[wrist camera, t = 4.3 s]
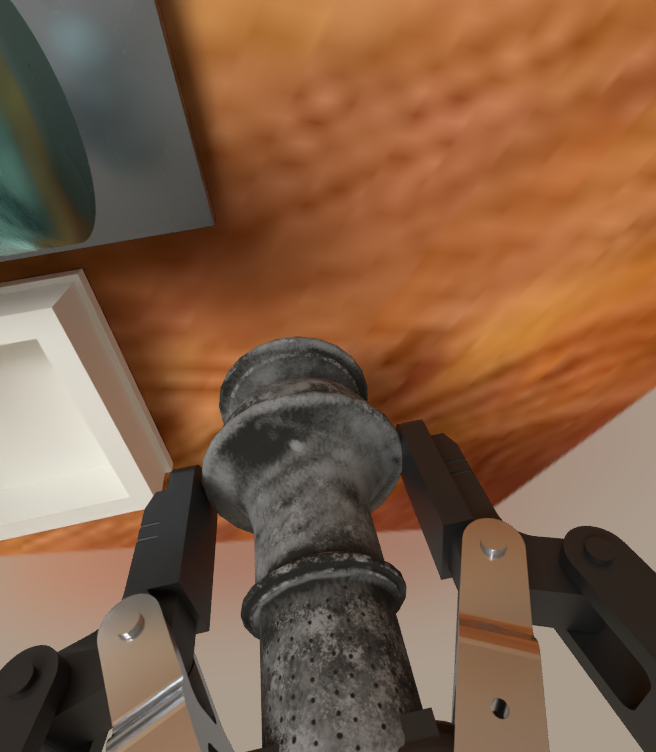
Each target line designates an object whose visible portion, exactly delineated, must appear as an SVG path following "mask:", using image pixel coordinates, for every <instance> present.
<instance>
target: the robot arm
mask: <svg viewBox="0 0 656 752" xmlns="http://www.w3.org/2000/svg"><path fill="white" fill-rule="evenodd" d="M396 430H397V431H398V434H399V437H400V440H401V449H402V472H401V477H402V480H403V482H404V485H405V487H406V490H407V493H408V495H409V498H410V500H411V503H412V505H413V508H414V511H415V513H416V516H417V518H418V521H419V523H420V526H421V529H422V531H423V534H424V536H425V539H426V541H427V544H428V546H429V549H430V551H431V554H432V557H433V559H434V562H435V565H436V567H437V570H438V572H439V575H440V578H441V580H443V579H447V578H453V580H454V583H455V585H456V588H457V590H458V602H457V603H458V604H457V623H456V644H455V666H454V684H453V702H452V721H451V723H450V722H446V721H439V720H435V718H434V715H433V711H432V708H427V709H423V710H419V711H414V712H410V713H406V714H402V715H399V716H400V720H401V724H402V728H403V733H404V737H405V746H404V747H401V748H399V749H398V752H550V750H549V740H548V730H547V718H546V708H545V697H544V686H543V676H542V665H541V655H540V649H539V644H538V641H537V639H536V638H534V635H533V629H532V625H537V626H544V627H551V628H554V629H555V630H556V632H557V633H558V634H559V636H560V637H561V638H562V640H563V641H564V643H565V644H566V645H567V647H568V648H569V649H570V651H571V652H572V654H573V655H574V656H575V658H576V659H577V660H578V662H579V663H580V665H581V666H582V667H583V669H584V670H585V671H586V673H587V674H588V676H589V677H590V678H591V679H592V681H593V682H594V684H595V685H596V686H597V688H598V689H599V691H600V692H601V693H602V695H603V696H604V698H605V699H606V700H607V701H608V703H609V704H610V706H611V707H612V709H613V710H614V711H615V713H616V714H617V715H618V717H619V718H620V719H621V721H622V722H623V723H624V725H625V726H626V728H627V729H628V730H629V732H630V733H631V734H632V736H633V737H634V739H635V740H636V741H637V743H638V744H639V746H640V747H641V748H642V750H643V751H644V752H656V573H655V572H654V571H653V570H652V569H651V568H650V567H649V566H648V565H647V564H646V563H645V562H644V561H643V560H642V559H641V558H640V557H639V556H638V555H637V554H636V553H635V552H634V551H633V550H632V549H631V548H630V547H629V546H628V545H627V544H625V543H624V542H623V541H622V540H621V539H620V538H618V537H617V536H616V535H614V534H612V533H610V532H609V531H606V530H604V529H601V528H598V527H592V526H581V527H576V528H574V529H572V530H570V531H569V532H568V533H567V535H566V536H565V538H564V539H560V538H549V537H537V536H530V535H527V534H523V533H521V532H518V531H517V530H515V529H514V528H513V527H512V526H511V525H509V524H507V523H505V522H503V521H502V519H501V518H500V517H499V516H498V514H497V513H496V511H495V509H494V508H493V506H492V504H491V502H490V501H489V499H488V497H487V495H486V494H485V492H484V490H483V489H482V487H481V485H480V483H479V482H478V480H477V478H476V476H475V475H474V473H473V472H472V471H471V468H470V466H469V464H468V463H467V461H466V460H465V457H464V456H463V454H462V452H461V451H460V449H459V447H458V445H457V444H456V443H455V442H454V441H452V440H451V439H450V438H448V437H447V436H446V435H445V434H443V433H441V434H436V435H431V436H430V434H429V432H428V430H427V428H426V426H425V424H424V422H423V421H422V420H416V421H411V422H406V423H401V424H397V426H396ZM201 481H202V469H201V467H200V466H199V465H195V466H190V467H185V468H180V469H175V470H172V471H171V473H170V476H169V481H168V486H167V490H164V491H159V492H156V493H155V494H154V496H153V497H152V499H151V500H150V502H149V503H148V505H147V506H146V508H145V510H144V514H143V518H142V523H141V528H140V531H139V535H138V542H137V543H136V547H135V551H134V555H133V559H132V563H131V567H130V571H129V575H128V579H127V583H126V588H125V591H124V595H123V598H122V601H120V602H119V603H118V604H116V605H115V606H114V607H113V608H112V609H111V610H110V611H109V612H108V614H107V615H106V616H105V618H104V619H103V621H102V623H101V625H100V628H99V629H98V630H96V631H95V632H93V633H92V634H90V635H88V636H86V637H85V638H83V639H81V640H79V641H77V642H75V643H74V644H72V645H70V646H68V647H66V648H64V649H62V650H61V651H59V652H56V651H55V650H54V649H53V648H51V647H50V646H46V645H39V646H34V647H31V648H28V649H26V650H24V651H22V652H21V653H19V654H18V655H16V656H15V657H14V658H13V659H11V660H10V661H9V662H8V663H7V664H6V665H5V666H4V667H3V668H2V669H1V670H0V752H102V749H103V746H104V743H105V740H106V737H107V734H108V731H109V730H110V729H112V728H113V734H112V737H111V738H109V739H108V741H107V744H106V752H234V750H233V748H232V746H231V744H230V742H229V740H228V738H227V736H226V734H225V732H224V730H223V727H222V725H221V722H220V720H219V717H218V715H217V712H216V709H215V706H214V704H213V701H212V698H211V695H210V693H209V690H208V687H207V684H206V682H205V679H204V676H203V674H202V671H201V668H200V665H199V663H198V660H197V657H196V655H195V653H194V647H195V636H196V634H198V633H203V632H207V631H209V627H210V613H211V600H212V585H213V572H214V559H215V545H216V531H217V511H216V510H215V509H214V508H213V506H212V505H211V504H210V502H209V501H208V499H207V496H206V494H205V491H204V488H203V485H202V482H201ZM248 752H279V744H277V745H273V746H269V747H264V748H260V749H256V750H252V751H248Z"/></svg>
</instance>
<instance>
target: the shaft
mask: <svg viewBox="0 0 656 752" xmlns="http://www.w3.org/2000/svg"><path fill="white" fill-rule="evenodd" d="M95 216H96V202H95V192H94V186H93V180H92V175H91V170H90V166H89V162H88V158H87V154H86V151H85V148H84V144H83V141H82V138H81V135H80V132H79V129H78V127H77V124H76V121H75V119H74V116H73V113H72V111H71V108H70V106H69V104H68V101H67V99H66V97H65V94H64V92H63V90H62V88H61V85H60V83H59V81H58V79H57V77H56V75H55V73H54V71H53V69H52V67H51V65H50V63H49V61H48V59H47V57H46V56H45V54H44V52H43V50H42V48H41V47H40V45H39V43H38V41H37V40H36V38H35V36H34V34H33V33H32V31H31V30H30V28H29V26H28V25H27V23H26V22H25V20H24V19H23V17H22V16H21V14H20V13H19V11H18V10H17V8H16V7H15V6H14V4H13V3H12V2H11V0H0V256H8V255H14V254H20V253H26V252H32V251H38V250H44V249H50V248H55V247H61V246H67V245H73V244H79V243H83V242H85V241H86V240H87V239H88V238H89V237H90V235H91V234H92V231H93V229H94V224H95Z"/></svg>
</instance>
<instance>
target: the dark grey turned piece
mask: <svg viewBox="0 0 656 752" xmlns="http://www.w3.org/2000/svg"><path fill="white" fill-rule="evenodd" d="M219 408H220V412H221V416H222V420H223V422H224V426H223V428H222V429H221V430H220V431H219V432H218V433H217V435H216V436H215V437H214V438H213V439H212V441H211V443H210V445H209V448H208V450H207V452H206V454H205V456H204V458H203V467H202V481H201V482H202V485H203V488H204V491H205V494H206V496H207V499H208V501H209V502H210V504H211V505H212V506H213V508H214V509H215V510H216V511H217V513H218V514H219V515H220V516H221V517H223V518H224V519H226V520H227V521H229V522H230V523H232V524H233V525H234V526H236V527H237V528H240V529H242V530H245V531H248V532H250V533H253V534H254V538H255V585H254V586H252V587H251V589H250V590H249V592H248V593H247V595H246V597H245V598H244V600H243V603H242V609H241V618H242V621H243V624H244V627H245V628H246V629H247V630H248V631H249V632H250V633H251V634H252V635H253V636H254V637H256V638H257V639H260V662H261V663H260V664H261V665H260V667H261V708H262V710H261V711H262V748H264V747H269V746H273V745H277V744H279V752H398V749H399V748H401V747H404V746H405V737H404V733H403V728H402V724H401V720H400V716H399V715H402V714H406V713H410V712H414V711H419V710H423V708H422V705H421V701H420V698H419V694H418V691H417V687H416V684H415V680H414V677H413V673H412V669H411V666H410V662H409V659H408V655H407V652H406V648H405V644H404V641H403V637H402V634H401V630H400V627H399V623H398V619H397V616H396V613H397V612H398V611H399V609H400V607H401V605H402V604H403V602H404V600H405V598H406V584H405V581H404V579H403V577H402V574H401V572H400V571H398V570H397V569H396V568H395V567H394V566H393V565H392V564H390V563H388V562H386V561H384V558H383V554H382V551H381V547H380V544H379V540H378V537H377V533H376V530H375V527H374V523H373V520H372V516H371V513H372V512H373V511H374V510H375V509H376V508H378V507H379V506H380V505H381V504H382V503H383V502H384V501H385V499H386V498H387V497H388V496H389V494H390V493H391V492H392V491H393V489H394V488H395V486H396V484H397V481H398V479H399V477H400V474H401V472H402V449H401V440H400V437H399V434H398V431H397V430H396V428H395V427H394V426H393V424H392V423H391V422H390V421H389V419H388V418H387V417H386V415H385V414H383V413H382V412H380V411H379V410H377V409H376V408H374V407H373V406H371V405H370V404H369V403H368V402H367V384H366V381H365V378H364V375H363V372H362V370H361V368H360V367H359V366H358V364H357V363H356V362H355V360H354V359H353V358H352V356H350V355H349V354H348V353H346V352H345V351H343V350H342V349H341V348H339V347H338V346H336V345H334V344H331V343H328V342H326V341H323V340H320V339H315V338H306V337H290V338H282V339H276V340H273V341H270V342H268V343H265V344H262V345H259V346H257V347H255V348H254V349H252V350H251V351H249V352H248V353H246V354H245V355H243V356H242V357H240V358H239V360H238V361H237V362H236V363H235V364H234V365H233V367H232V368H231V369H230V370H229V371H228V373H227V375H226V377H225V379H224V382H223V384H222V386H221V390H220V401H219Z"/></svg>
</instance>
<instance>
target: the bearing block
mask: <svg viewBox="0 0 656 752" xmlns="http://www.w3.org/2000/svg"><path fill="white" fill-rule="evenodd" d="M11 2H12V3H13V4H14V6H15V7H16V8H17V10H18V11H19V13H20V14H21V16H22V17H23V19H24V20H25V22H26V23H27V25H28V26H29V28H30V30H31V31H32V33H33V34H34V36H35V38H36V40H37V41H38V43H39V45H40V47H41V48H42V50H43V52H44V54H45V56H46V57H47V59H48V61H49V63H50V65H51V67H52V69H53V71H54V73H55V75H56V77H57V79H58V81H59V83H60V85H61V88H62V90H63V92H64V94H65V97H66V99H67V101H68V104H69V106H70V108H71V111H72V113H73V116H74V119H75V121H76V124H77V127H78V129H79V132H80V135H81V138H82V141H83V144H84V148H85V151H86V154H87V158H88V162H89V166H90V170H91V175H92V180H93V186H94V192H95V202H96V216H95V224H94V229H93V231H92V234H91V235H90V237H89V238H88V239H87V240H86V241H85V242H83V243H79V244H73V245H67V246H61V247H55V248H50V249H44V250H38V251H32V252H26V253H20V254H14V255H8V256H0V262H3V261H9V260H15V259H21V258H27V257H32V256H38V255H44V254H50V253H56V252H62V251H68V250H74V249H80V248H85V247H91V246H97V245H103V244H109V243H115V242H121V241H127V240H132V239H138V238H144V237H150V236H156V235H162V234H168V233H174V232H179V231H185V230H191V229H197V228H203V227H209V226H214V223H215V216H214V212H213V208H212V205H211V201H210V197H209V193H208V189H207V186H206V182H205V178H204V174H203V170H202V167H201V163H200V159H199V155H198V152H197V148H196V144H195V140H194V136H193V133H192V129H191V125H190V121H189V117H188V114H187V110H186V106H185V102H184V98H183V95H182V91H181V87H180V83H179V79H178V76H177V72H176V68H175V64H174V60H173V57H172V53H171V49H170V45H169V41H168V38H167V34H166V30H165V26H164V22H163V19H162V15H161V11H160V7H159V3H158V0H11Z"/></svg>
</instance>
